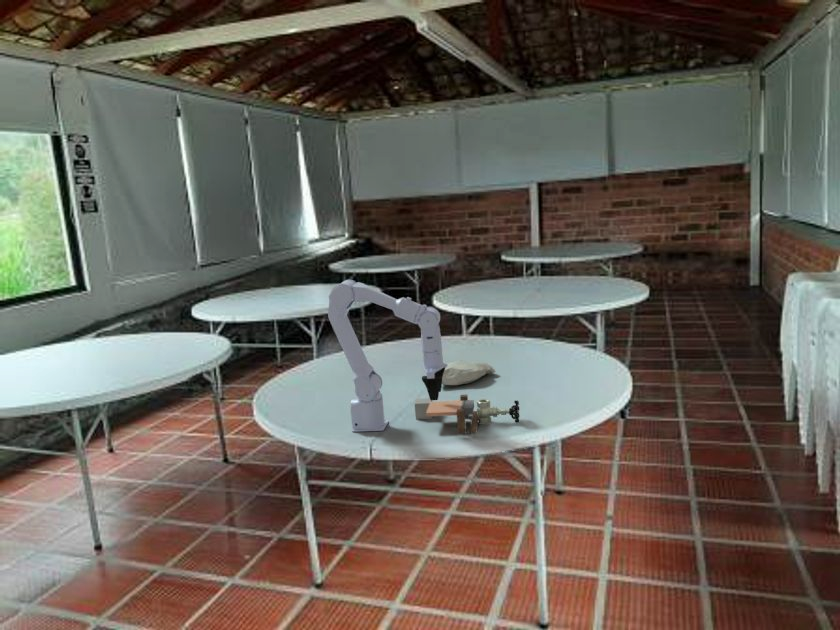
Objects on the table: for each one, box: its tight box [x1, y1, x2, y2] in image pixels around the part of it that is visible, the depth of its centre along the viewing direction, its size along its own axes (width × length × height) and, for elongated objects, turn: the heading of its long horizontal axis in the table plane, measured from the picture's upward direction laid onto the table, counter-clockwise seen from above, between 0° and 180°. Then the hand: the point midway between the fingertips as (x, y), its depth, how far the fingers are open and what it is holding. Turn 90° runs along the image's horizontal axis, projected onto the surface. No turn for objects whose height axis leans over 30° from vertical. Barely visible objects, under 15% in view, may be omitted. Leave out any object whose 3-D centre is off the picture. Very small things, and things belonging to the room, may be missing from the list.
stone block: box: [414, 397, 433, 420], centre depth 200 cm, size 5×5×5 cm
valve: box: [476, 398, 521, 425], centre depth 189 cm, size 7×7×12 cm
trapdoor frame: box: [456, 394, 479, 435], centre depth 190 cm, size 5×15×6 cm, turn 172°
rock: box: [442, 359, 496, 386], centre depth 235 cm, size 19×7×25 cm
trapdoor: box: [426, 399, 475, 417], centre depth 190 cm, size 13×10×2 cm
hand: (435, 395), depth 190 cm, fingers open, 7 cm apart
